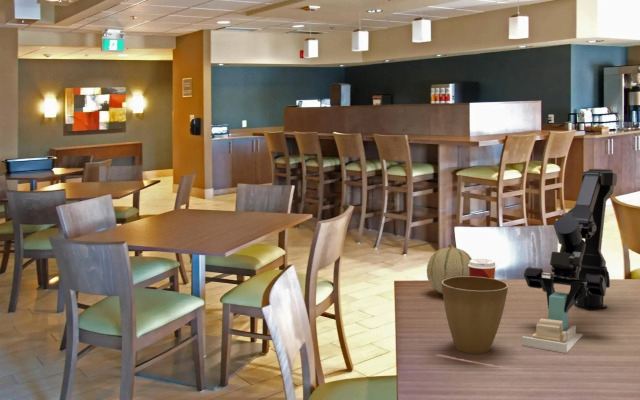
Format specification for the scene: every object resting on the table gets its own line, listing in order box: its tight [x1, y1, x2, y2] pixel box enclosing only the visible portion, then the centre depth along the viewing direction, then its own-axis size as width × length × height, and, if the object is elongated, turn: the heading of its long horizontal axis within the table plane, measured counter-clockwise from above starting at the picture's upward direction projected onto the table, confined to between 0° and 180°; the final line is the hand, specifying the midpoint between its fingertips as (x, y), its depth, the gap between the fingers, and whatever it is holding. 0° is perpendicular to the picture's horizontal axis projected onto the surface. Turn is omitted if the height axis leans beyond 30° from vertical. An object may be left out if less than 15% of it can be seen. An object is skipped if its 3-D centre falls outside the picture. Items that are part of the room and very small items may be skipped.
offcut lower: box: [531, 331, 566, 343], centre depth 164 cm, size 7×6×2 cm
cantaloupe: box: [426, 244, 473, 295], centre depth 211 cm, size 15×15×15 cm
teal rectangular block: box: [548, 291, 569, 331], centre depth 170 cm, size 5×3×10 cm
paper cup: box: [468, 258, 497, 279], centre depth 194 cm, size 8×8×14 cm
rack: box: [521, 325, 584, 354], centre depth 167 cm, size 16×10×3 cm, turn 146°
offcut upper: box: [535, 318, 563, 338], centre depth 164 cm, size 6×5×2 cm
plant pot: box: [442, 276, 509, 355], centre depth 161 cm, size 15×15×16 cm
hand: (557, 310), depth 168 cm, fingers closed on teal rectangular block, 3 cm apart
